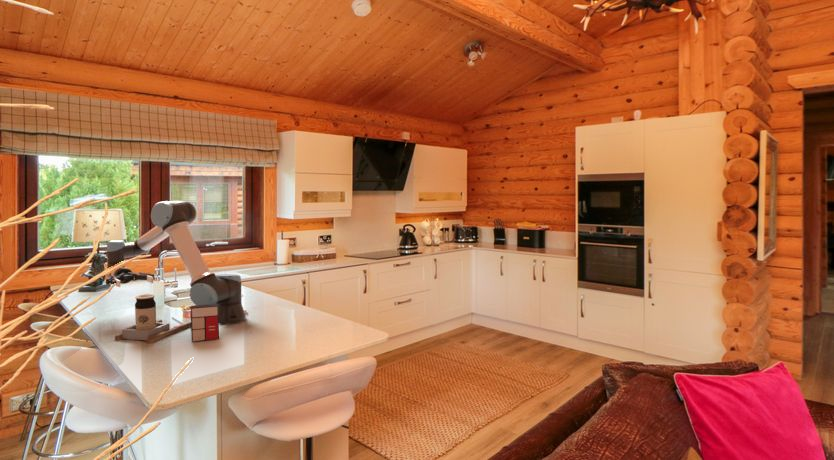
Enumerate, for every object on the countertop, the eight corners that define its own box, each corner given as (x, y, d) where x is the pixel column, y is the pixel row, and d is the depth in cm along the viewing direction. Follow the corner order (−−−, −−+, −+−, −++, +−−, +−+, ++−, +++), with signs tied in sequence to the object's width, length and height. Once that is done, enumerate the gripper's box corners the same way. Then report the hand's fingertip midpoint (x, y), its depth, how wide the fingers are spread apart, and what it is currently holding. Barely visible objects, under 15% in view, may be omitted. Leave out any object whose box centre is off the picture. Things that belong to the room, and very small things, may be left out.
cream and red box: (191, 342, 210) (190, 308, 209) (191, 339, 214) (190, 305, 213) (219, 339, 214) (218, 305, 213) (219, 337, 218) (218, 303, 217)
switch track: (191, 326, 234) (191, 321, 234) (150, 343, 209) (150, 338, 208) (158, 323, 238) (158, 319, 237) (114, 339, 212) (114, 334, 212)
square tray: (169, 331, 223) (169, 323, 223) (148, 340, 211) (147, 331, 210) (144, 329, 226) (144, 321, 226) (122, 338, 213) (121, 329, 213)
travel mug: (143, 333, 222) (141, 293, 221) (160, 333, 222) (159, 294, 220) (132, 338, 214) (130, 297, 213) (150, 339, 214) (148, 298, 213)
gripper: (150, 279, 248) (165, 286, 234) (92, 285, 231) (105, 293, 216) (150, 264, 248) (165, 271, 233) (91, 269, 230) (104, 277, 215)
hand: (136, 282), depth 224 cm, fingers open, 13 cm apart
